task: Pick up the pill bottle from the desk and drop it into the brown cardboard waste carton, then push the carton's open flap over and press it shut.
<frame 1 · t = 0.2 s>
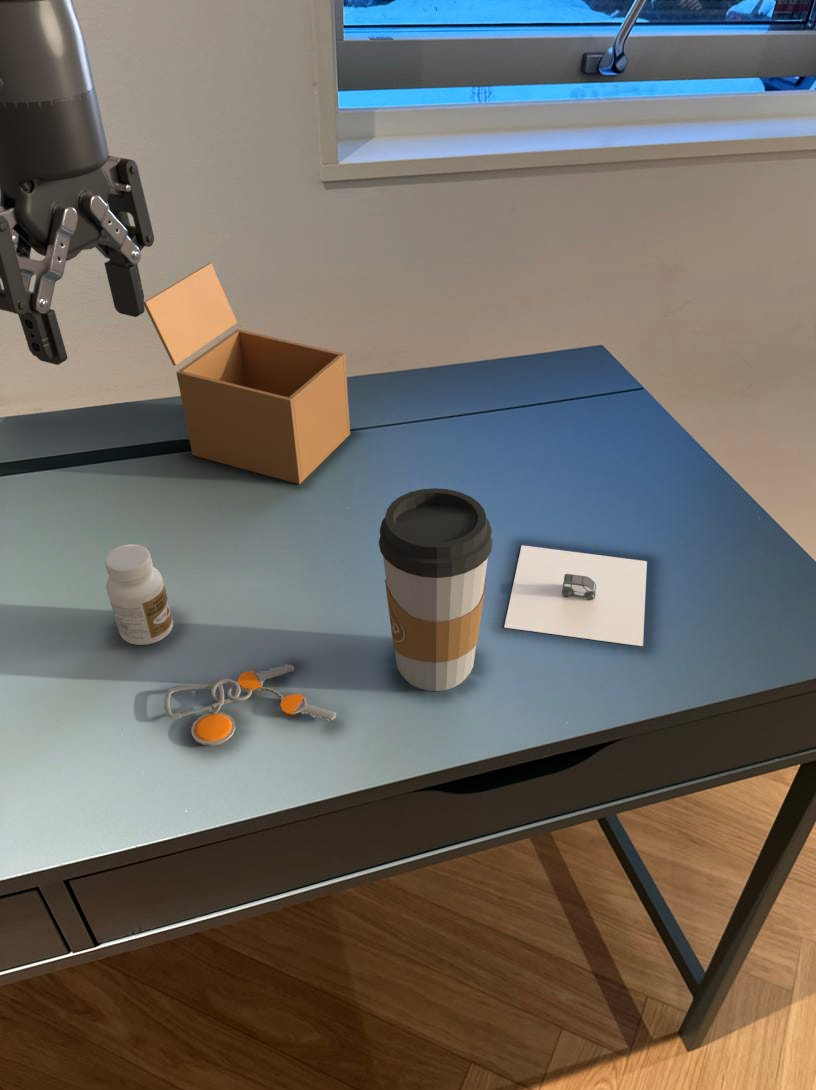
hand: (93, 336, 68), 23 cm above the table, tool pointing down, fingers open, 8 cm apart
white square mat: (578, 594, 85), on the table
key chain: (250, 706, 73), on the table
pill bottle: (147, 631, 79), on the table
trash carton: (273, 444, 101), on the table
coffee cup: (435, 667, 77), on the table
bin flap: (192, 313, 94), point 13 cm above the table, hinge at 110.0°
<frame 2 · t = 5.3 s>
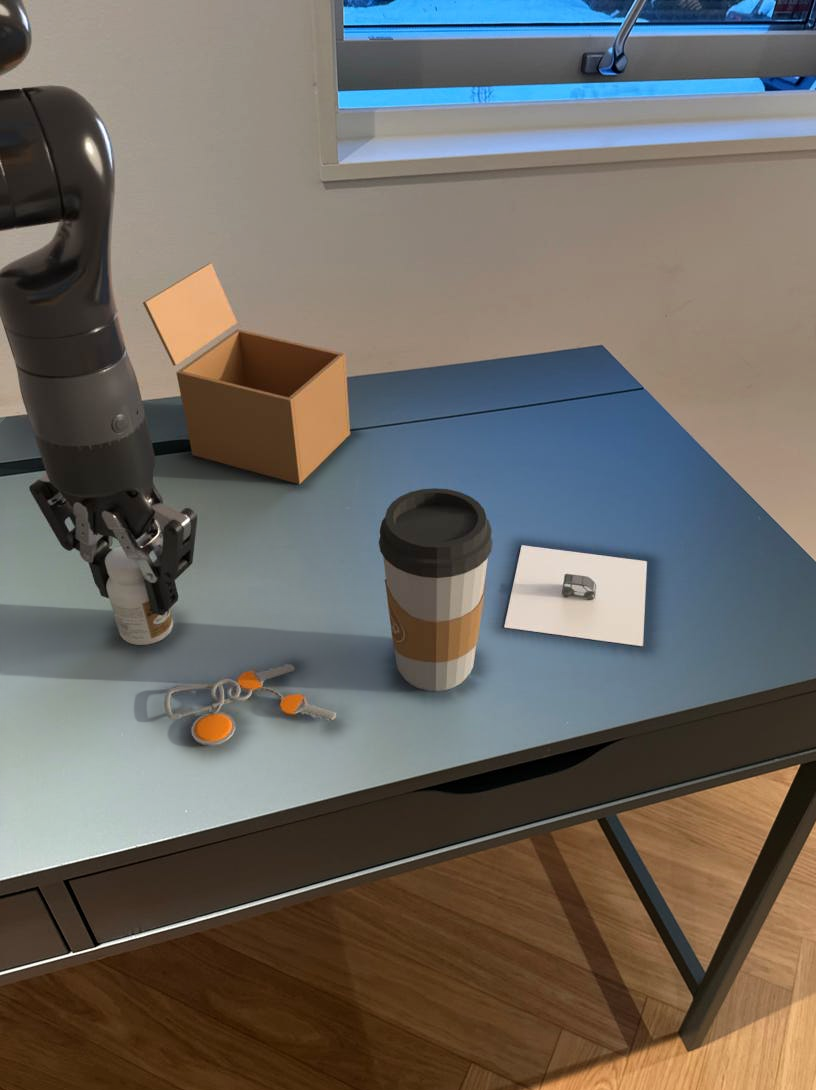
hand: (138, 599, 77), 3 cm above the table, tool pointing down, fingers closed on pill bottle, 4 cm apart
pill bottle: (147, 631, 79), on the table, touching gripper
everything else where it was.
when the fingers open (12 cm above the table, at t = 12.8 s): pill bottle drops 8 cm, resting on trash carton.
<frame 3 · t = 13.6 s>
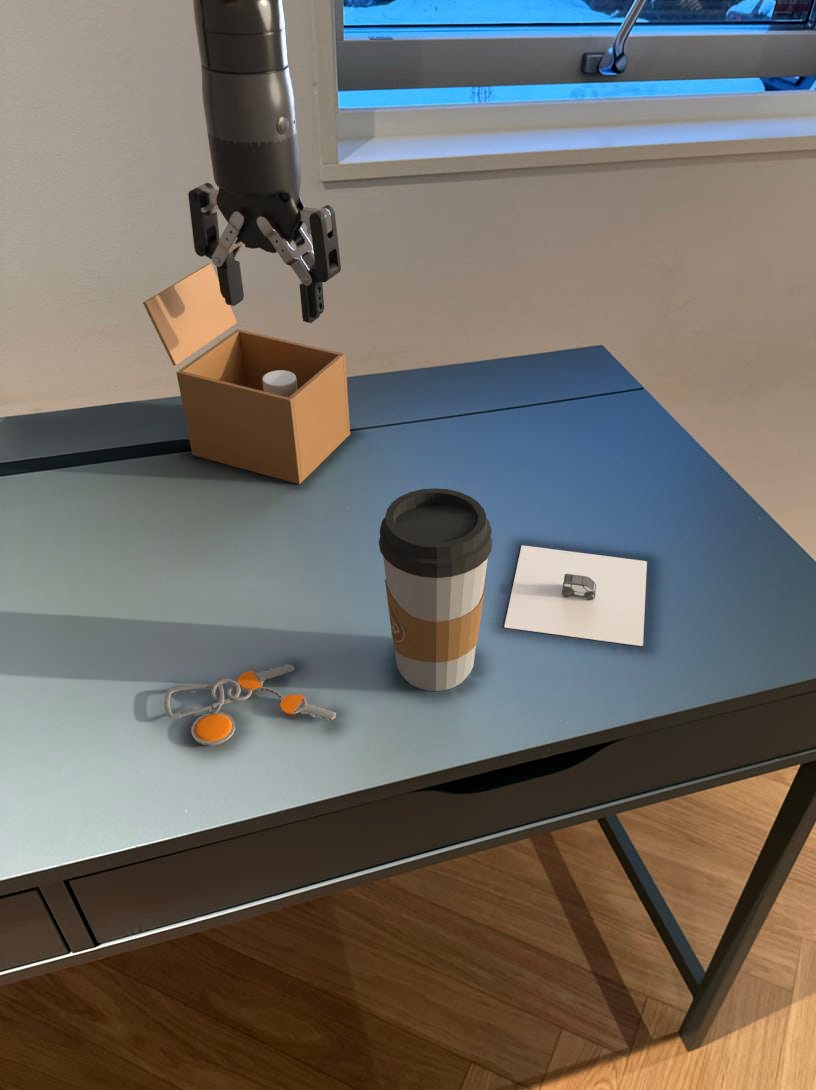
hand: (272, 311, 90), 15 cm above the table, tool pointing down, fingers open, 8 cm apart
pill bottle: (287, 446, 101), resting on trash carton
everything else where it was.
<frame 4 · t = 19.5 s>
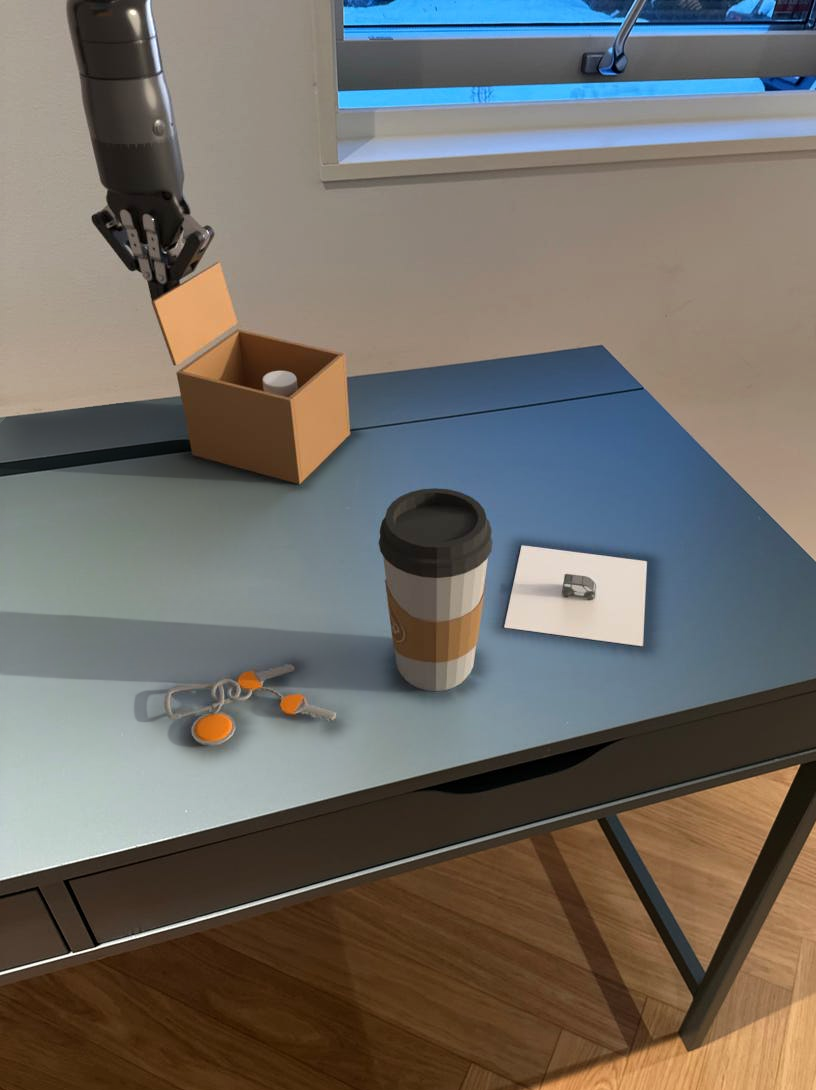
hand: (169, 314, 96), 12 cm above the table, tool pointing down, fingers closed
bin flap: (196, 312, 94), point 13 cm above the table, hinge at 100.2°
everything else where it was.
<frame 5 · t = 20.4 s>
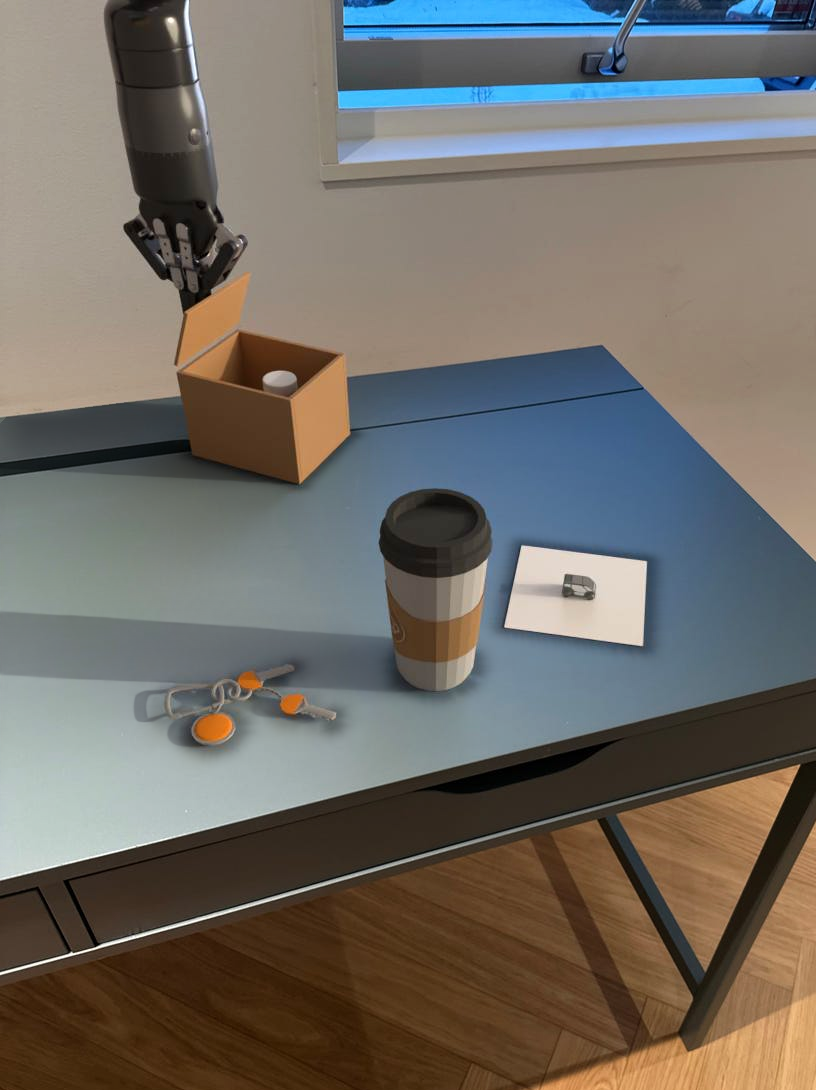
hand: (200, 323, 95), 12 cm above the table, tool pointing down, fingers closed
bin flap: (212, 318, 94), point 13 cm above the table, hinge at 67.2°, touching gripper
everything else where it was.
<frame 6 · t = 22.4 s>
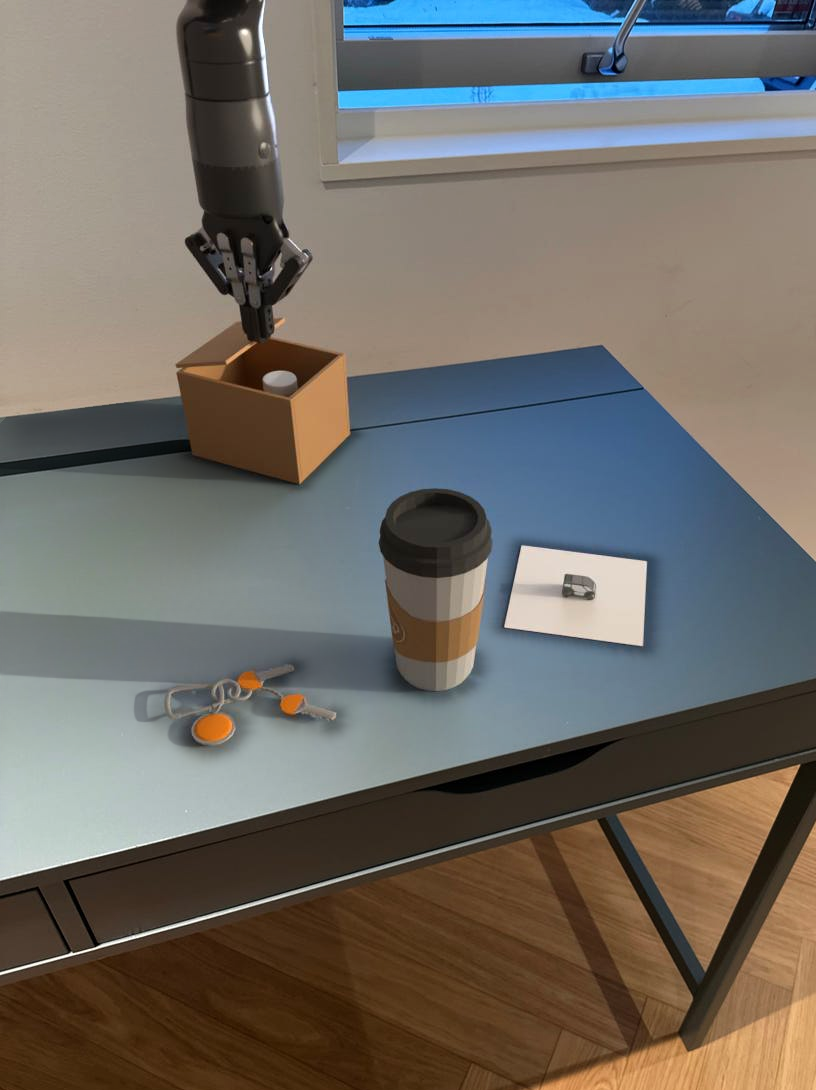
hand: (259, 338, 93), 12 cm above the table, tool pointing down, fingers closed
bin flap: (231, 342, 95), point 11 cm above the table, hinge at 15.6°, touching gripper
everything else where it was.
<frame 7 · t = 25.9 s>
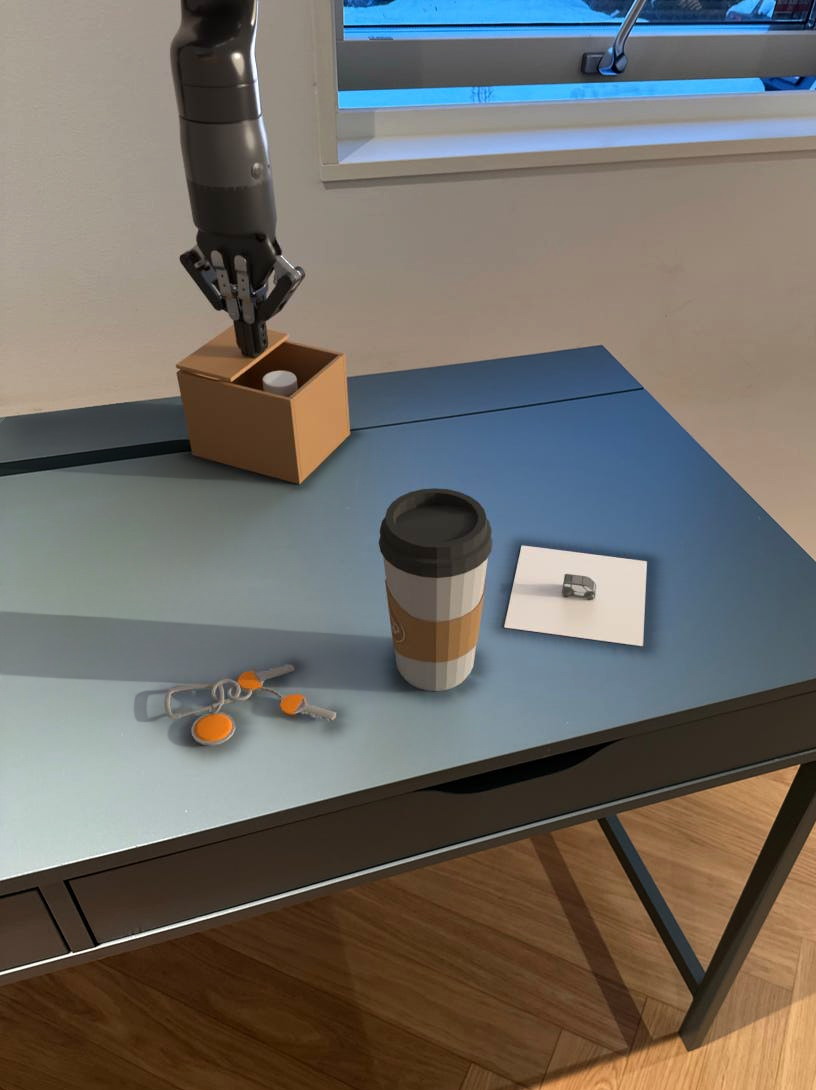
hand: (253, 353, 95), 10 cm above the table, tool pointing down, fingers closed
bin flap: (234, 350, 95), point 10 cm above the table, hinge at -0.3°, touching gripper
everything else where it was.
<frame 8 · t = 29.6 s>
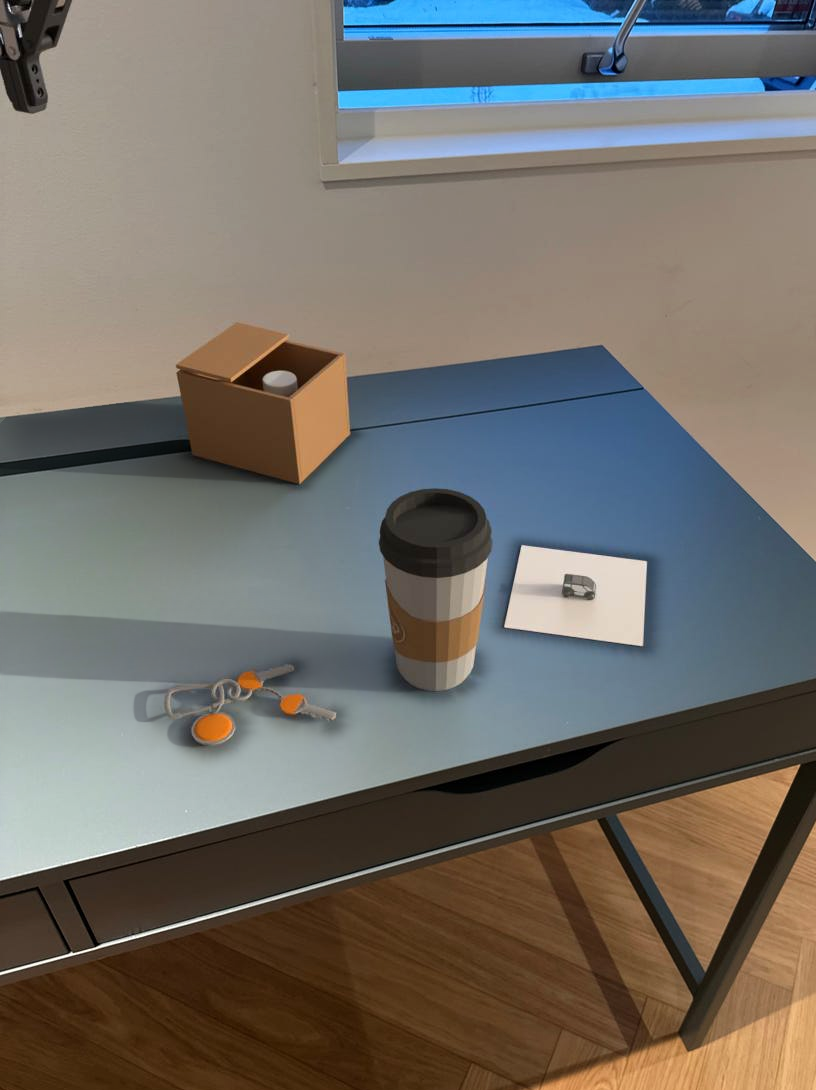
hand: (31, 110, 75), 33 cm above the table, tool pointing down, fingers closed
bin flap: (234, 350, 95), point 10 cm above the table, hinge at -0.4°
everything else where it was.
at the end: pill bottle inside the target area in the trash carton (1.8 cm from its centre), point 0.3 cm above the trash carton's base; bin flap at +0° (first picture: +110°) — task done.
